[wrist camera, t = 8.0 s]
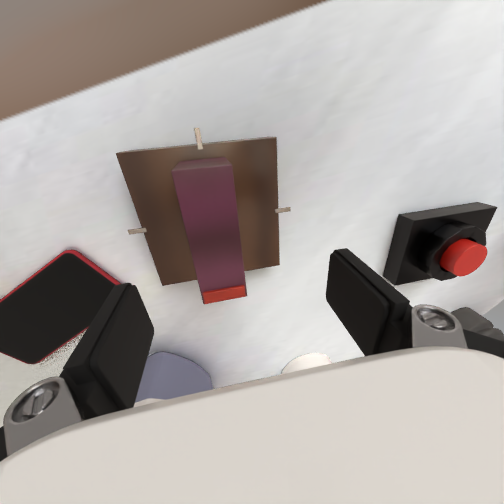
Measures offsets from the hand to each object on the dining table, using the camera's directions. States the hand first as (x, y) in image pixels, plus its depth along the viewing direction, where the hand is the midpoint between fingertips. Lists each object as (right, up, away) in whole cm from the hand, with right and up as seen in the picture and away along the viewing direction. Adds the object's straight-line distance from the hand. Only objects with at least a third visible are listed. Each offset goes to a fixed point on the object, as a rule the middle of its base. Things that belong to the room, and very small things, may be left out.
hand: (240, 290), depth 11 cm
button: (+24, +2, +15) cm, 29 cm away
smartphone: (-20, -4, +13) cm, 24 cm away
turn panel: (-3, +6, +11) cm, 13 cm away
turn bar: (-3, +5, +9) cm, 10 cm away
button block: (+24, +3, +18) cm, 30 cm away
